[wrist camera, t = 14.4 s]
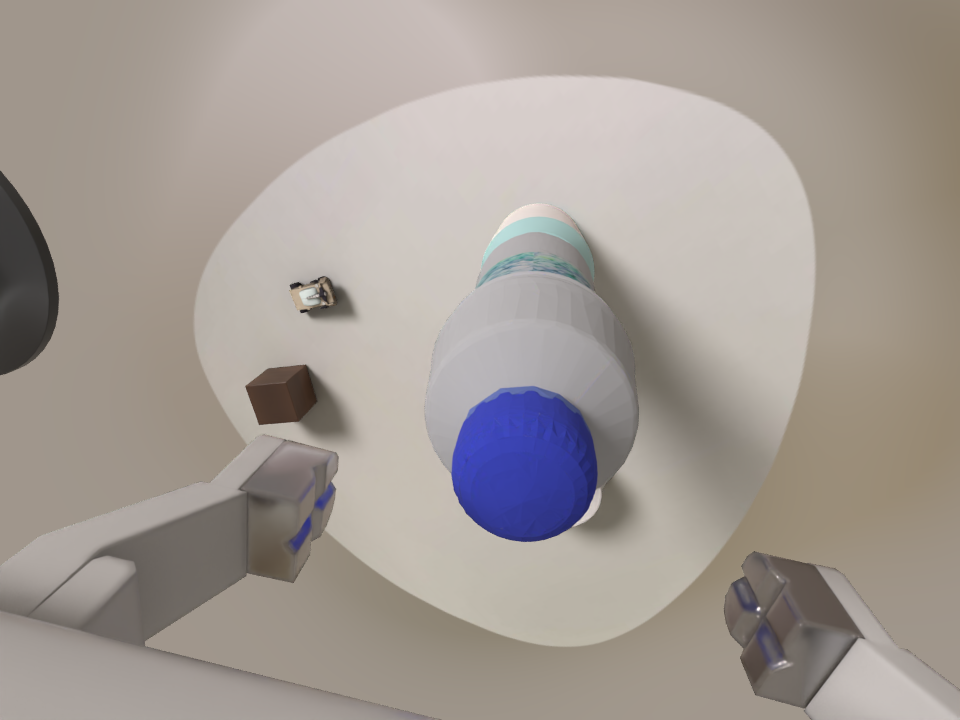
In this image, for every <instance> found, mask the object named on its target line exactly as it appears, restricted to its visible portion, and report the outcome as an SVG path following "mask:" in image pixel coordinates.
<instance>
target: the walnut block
mask: <svg viewBox="0 0 960 720" xmlns="http://www.w3.org/2000/svg"><path fill="white" fill-rule="evenodd" d="M245 387H246V390H247V392H248V395H249V398H250V401H251V403H252V406H253V409H254V412H255V415H256V417H257V420H258V423H259V425H263V424H275V423H287V422H299V421H300V420H301V419H302V417H303V416H304V415H305V414H306V413H307V412H308V411H309V410H310V409H311V408H312V407H313V406H314V404H315V403H316V402H317V399H316V396H315V393H314V390H313V386H312V383H311V380H310V377H309V373H308V370H307V367H306V365H298V366H289V367H279V368H269V369H267V370H266V371H264V372H263V373H262V374H260V375H259V376H258V377H257V378H255V379H254V380H253V381H251V382H250V383H249V384H247V385H246V386H245Z"/></svg>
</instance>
